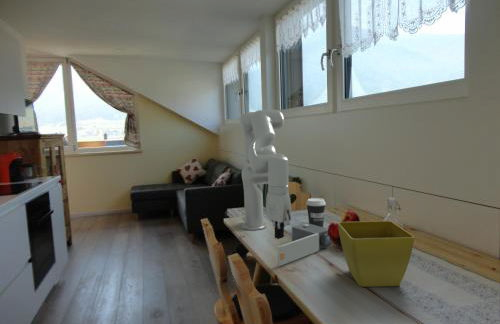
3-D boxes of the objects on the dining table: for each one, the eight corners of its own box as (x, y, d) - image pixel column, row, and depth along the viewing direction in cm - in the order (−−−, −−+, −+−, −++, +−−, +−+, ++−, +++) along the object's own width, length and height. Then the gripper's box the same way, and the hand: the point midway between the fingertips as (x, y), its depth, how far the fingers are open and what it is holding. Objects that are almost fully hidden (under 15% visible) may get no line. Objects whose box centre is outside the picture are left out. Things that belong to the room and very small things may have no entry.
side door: (317, 249, 137) (316, 233, 136) (320, 250, 136) (320, 234, 135) (278, 265, 123) (277, 246, 122) (281, 266, 122) (280, 247, 121)
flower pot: (337, 266, 121) (337, 221, 119) (390, 265, 120) (391, 220, 119) (351, 292, 102) (351, 238, 100) (415, 291, 101) (416, 237, 100)
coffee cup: (304, 231, 163) (303, 201, 161) (308, 226, 172) (308, 197, 170) (324, 233, 159) (324, 202, 158) (327, 227, 168) (327, 198, 167)
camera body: (292, 242, 148) (291, 225, 148) (306, 237, 154) (306, 221, 153) (320, 251, 136) (319, 233, 135) (334, 246, 141) (334, 228, 141)
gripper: (258, 188, 128) (259, 234, 130) (283, 194, 116) (284, 245, 118) (273, 185, 132) (274, 230, 134) (299, 191, 120) (300, 240, 122)
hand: (279, 237), depth 126 cm, fingers closed
